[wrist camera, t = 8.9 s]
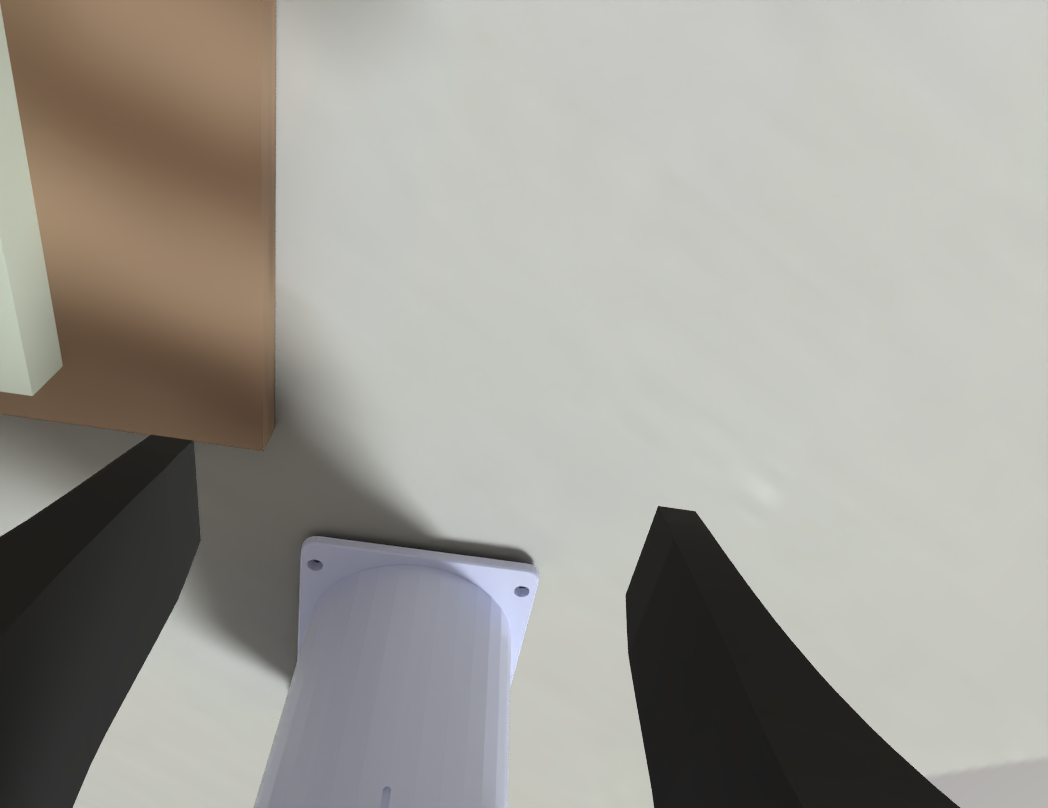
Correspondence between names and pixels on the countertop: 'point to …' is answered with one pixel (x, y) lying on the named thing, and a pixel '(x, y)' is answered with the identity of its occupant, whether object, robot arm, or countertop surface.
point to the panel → (21, 259)
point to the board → (153, 211)
